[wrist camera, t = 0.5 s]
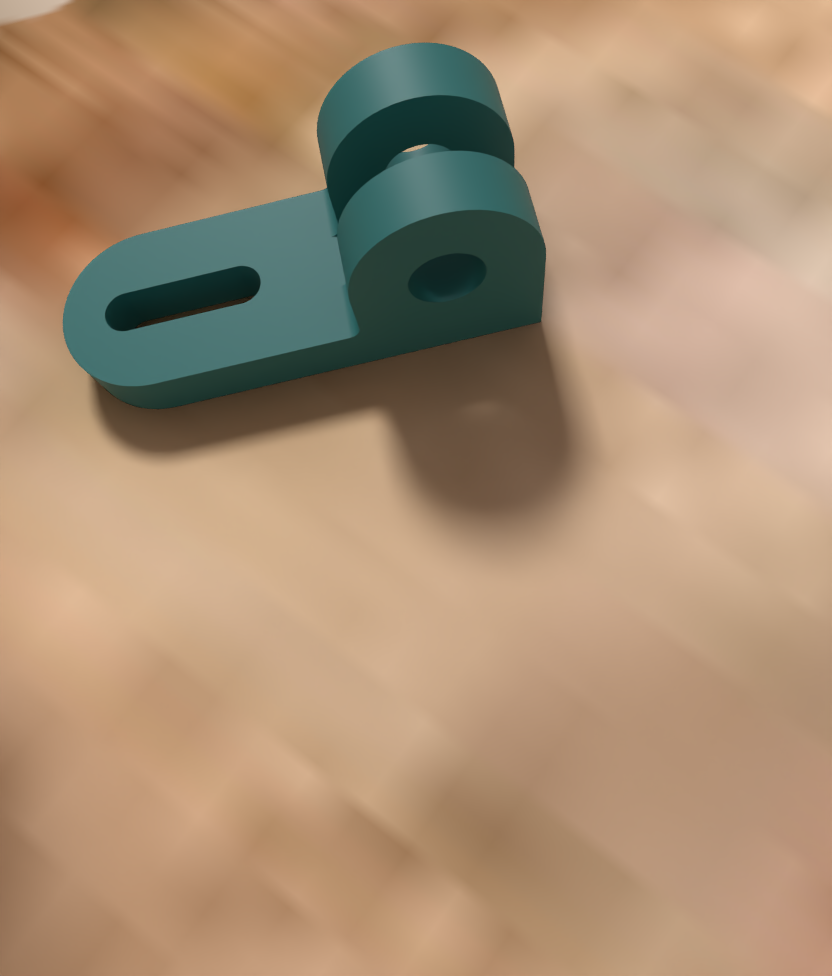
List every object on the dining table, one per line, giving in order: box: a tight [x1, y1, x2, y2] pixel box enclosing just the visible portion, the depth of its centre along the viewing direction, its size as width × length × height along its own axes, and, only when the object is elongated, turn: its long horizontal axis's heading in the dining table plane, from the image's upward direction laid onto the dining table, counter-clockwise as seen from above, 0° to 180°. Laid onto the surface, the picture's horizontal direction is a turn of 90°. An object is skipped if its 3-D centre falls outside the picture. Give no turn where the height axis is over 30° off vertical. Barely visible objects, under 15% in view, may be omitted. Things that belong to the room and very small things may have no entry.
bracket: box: [63, 43, 546, 409], centre depth 28 cm, size 18×7×8 cm, turn 101°
